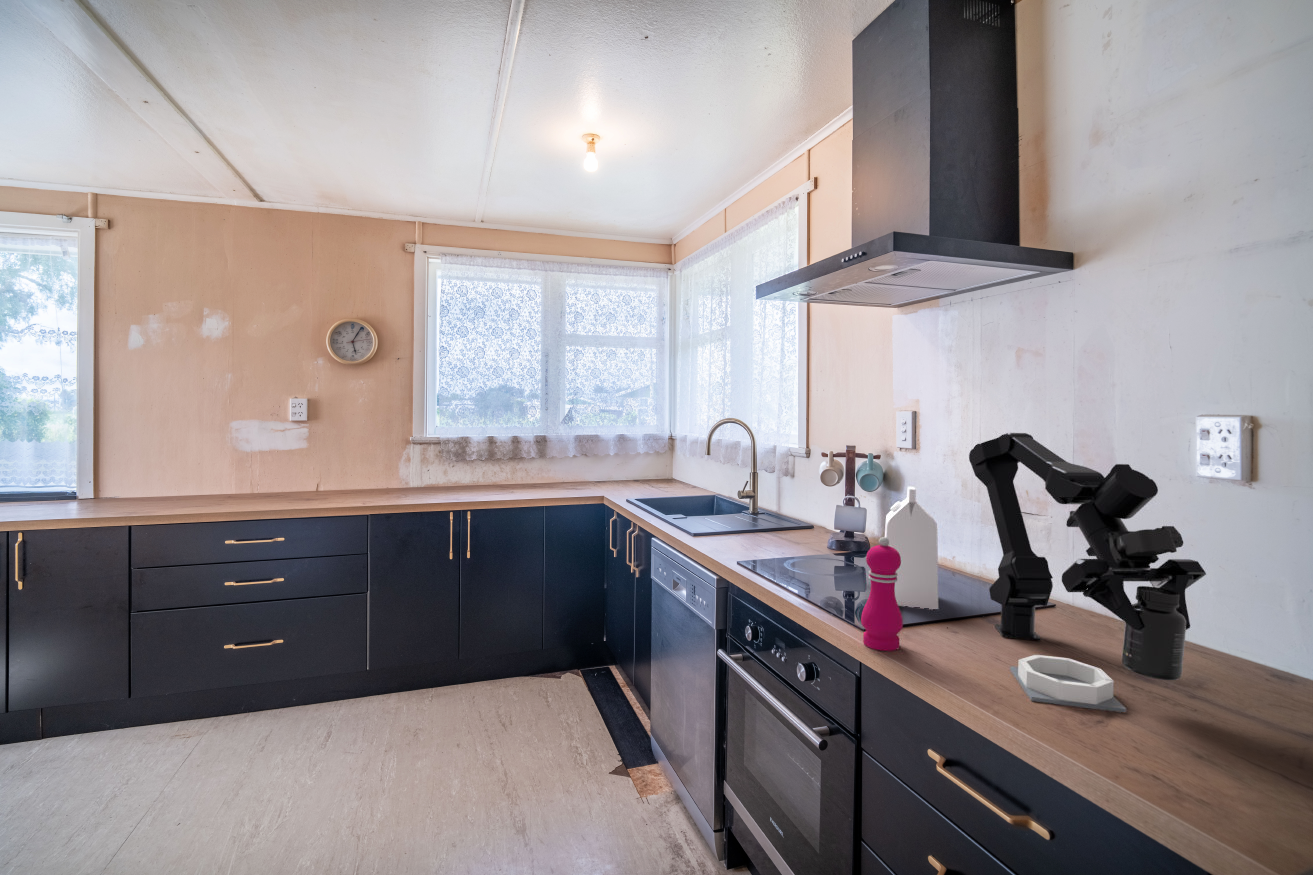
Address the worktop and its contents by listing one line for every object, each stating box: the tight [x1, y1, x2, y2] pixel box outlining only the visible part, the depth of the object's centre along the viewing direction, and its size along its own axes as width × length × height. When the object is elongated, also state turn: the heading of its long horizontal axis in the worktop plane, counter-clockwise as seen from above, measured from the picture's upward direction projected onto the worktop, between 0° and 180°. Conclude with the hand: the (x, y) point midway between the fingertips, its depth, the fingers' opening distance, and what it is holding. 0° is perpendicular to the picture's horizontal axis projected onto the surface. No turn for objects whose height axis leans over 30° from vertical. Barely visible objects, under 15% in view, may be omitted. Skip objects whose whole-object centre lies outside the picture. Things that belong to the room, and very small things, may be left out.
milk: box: [884, 486, 939, 610], centre depth 142 cm, size 12×12×26 cm
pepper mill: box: [860, 536, 904, 652], centre depth 113 cm, size 7×7×20 cm
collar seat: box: [1009, 654, 1127, 713], centre depth 95 cm, size 12×12×3 cm
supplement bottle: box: [1121, 585, 1187, 682], centre depth 89 cm, size 7×7×12 cm
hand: (1163, 628), depth 88 cm, fingers closed on supplement bottle, 7 cm apart
